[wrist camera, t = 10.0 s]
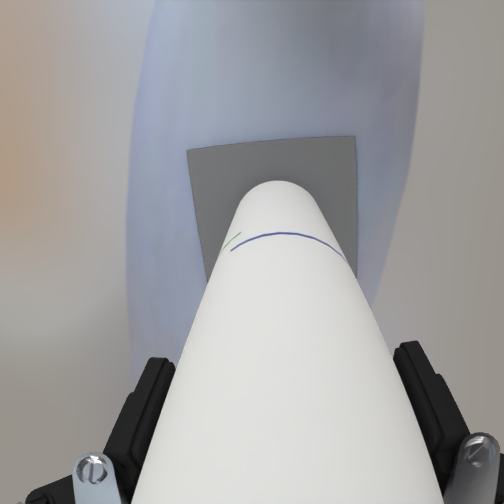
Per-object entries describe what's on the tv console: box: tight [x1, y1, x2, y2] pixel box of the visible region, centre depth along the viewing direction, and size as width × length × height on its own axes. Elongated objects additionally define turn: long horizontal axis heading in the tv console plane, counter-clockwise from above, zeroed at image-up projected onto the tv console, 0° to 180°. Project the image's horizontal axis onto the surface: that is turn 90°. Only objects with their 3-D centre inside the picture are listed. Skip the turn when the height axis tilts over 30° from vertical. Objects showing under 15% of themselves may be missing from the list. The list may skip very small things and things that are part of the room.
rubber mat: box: [187, 136, 358, 282], centre depth 27 cm, size 14×14×1 cm
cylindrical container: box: [131, 181, 444, 504], centre depth 15 cm, size 7×7×25 cm
